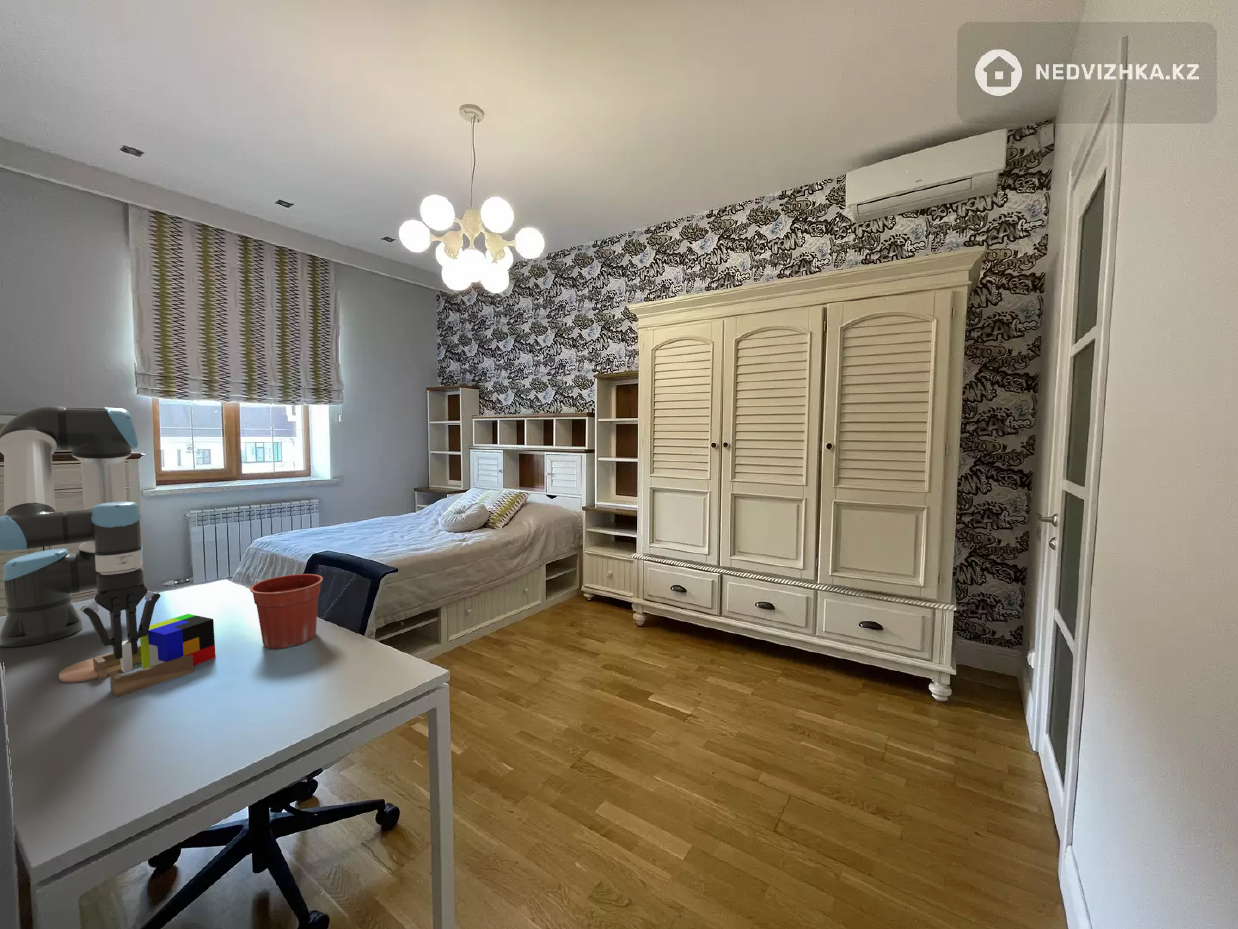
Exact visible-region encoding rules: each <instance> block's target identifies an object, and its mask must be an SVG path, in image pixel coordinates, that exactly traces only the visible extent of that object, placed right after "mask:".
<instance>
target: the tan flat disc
mask: <svg viewBox="0 0 1238 929" xmlns="http://www.w3.org/2000/svg"><path fill="white" fill-rule="evenodd" d="M93 658H94V657H92V658H88V659H85V660H82V661H79V662H76V663H73V664H72V665H71V664H70V665H69V666H67V667H65V668H64V669H62V670H61V671H59V673H58V679H59V681H60V682H63V683H76V682H77V683H78V682H85V681H90V680H94V679H99V678H98V674H97V673H96V672H95V671H94V665H93ZM106 671H107V676H110V673H113V672H117V671H118V672H119V671H122V670H121V664H119V665H116V666H112V667H109V668H106Z"/></svg>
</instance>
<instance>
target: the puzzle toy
mask: <svg viewBox="0 0 1238 929" xmlns="http://www.w3.org/2000/svg"><path fill="white" fill-rule="evenodd" d="M214 625H215V624H214V619H213V618H211V617H205V616H201V615H196V614H191V613H186V614H183V615H179V616H177V617H173V618H169V619H167V620H164V621H159V622H157V623H154V624H153V623H152V624H150V626H149V630H148V634H147V635H146V636H143V637H141V638H139V641H140V643H139V645H141V659H142V662H141V669H145V668H148V667H151V666H155V665H158V664H161V663H164V662H168V661H171V660H174V659H177V658H181V657H184V656H187V655H192V656H193V667H194V666H196V665H200V664H202V663H205V662H207V661H210V660H212V659H215V658H216V657H217V656H216V642H215V626H214Z"/></svg>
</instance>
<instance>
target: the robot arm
mask: <svg viewBox="0 0 1238 929" xmlns="http://www.w3.org/2000/svg"><path fill="white" fill-rule="evenodd" d="M137 448H139V442H138V436H137V433H136V430H135V425H134V421H133V418H132V415H131V414H130V411H129V410H127V409H125V408H120V407H116V408H115V407H108V406H57V405H53V406H52V405H48V406H46V405H45V406H40V407H36V408H31V409H29V410H26V411H23V412H21V413H19V414H18V415H16V416H14V417H13V418H12V419H11V420H9V421H8V422H7V423H6V424H5V425H3V427H2V428H1V429H0V453H1V454H2V455H3V475H4V476H3V480H4V481H3V482H4V483H3V485H4V486H3V500H4V502H3V503H4V504H3V505H4V506H3V515H2V516H0V552H6V551H9V552H10V551H18V550H19V551H24V550H28V549H29V550H30V549H37V548H45V547H52V546H58V545H60V546H61V545H68V544H70V545H72V544H79V543H80V544H79V546H78V551H77V552H69V550H68V549H67V548H56V549H55V548H54V549H48V550H42V551H37V552H32V553H28V554H24V555H21V556H18V557H14V558H12V559H9V561H7V562H6V563H4V566H3V577H2V581H3V582H4V595H5V596H4V597H5V606H6V607H5V608H6V617H5V619H4V622H3V624H2V627H1V630H0V647H3V648H18V647H26V646H27V647H28V646H33V645H39V644H42V643H47V642H51V641H54V640H58V639H62V638H65V637H68V636H71V635H73V634H75V633H78V632H79V631H81V630H83V626H84V625H83V618H82V617H81V615H80V614H79V612H78V610H77V609H76V608H75V606H74V604H73V602H72V594H77V593H78V594H79V593H84V592H90V591H96V590H97V592H96V595H95V596H94V601H91V603H89V604H88V605H85V606H84V605H83V606H81V608H80V611H81V612H82V613H84V615H86V616H87V617H88V619H89V621H90V623H91V624H92V627H93V628H94V631H95V633H96V635H97V638H98V640H99V642H100V643H101V644H102V645H103V646H105V647H107V646H112V652H113V655H114V657H115V658H116V659H120V663H121V670H120V671H122V672H123V673H125V674H126V673H130V672H131V671H132V672H133V671H134V667H133V666H134V664H132V655H134V654H137V652H138V641H139V640H140V638H141V637H143V636H146V635H147V634H148V630H149V626H150V625H151V622H152V617H153V614H154V610H155V606H156V603H157V602H158V600H160V597H161V594H160V593H158V592H157V591H149V590H148V588H147V587H146V585H145V579H144V577H145V576H144V575H145V574H144V568H143V563H144V557H143V556H144V548H143V547H144V546H143V545H142V538H141V537H142V536H141V535H142V534H141V533H142V532H141V518H142V517H141V516H142V515H141V513H140V508H139V505H138V503H137V502H135V501H127V488H126V468H125V467H126V466H125V460H126V459H127V458H129V457H131V455H132V450H135V449H137ZM57 450H62V451H63V450H64V451H65V450H66V451H67V450H70V451H71V456H72V457H73V458H75V459H76V460H78V461H79V462H80V470H81V483H82V484H81V485H82V496H83V498H82V500H83V509H78V510H76V509H75V510H68V511H67V510H65V511H64V510H63V511H57V508H56V495H55V481H54V468H53V467H54V466H53V454H54V453H55V452H56V451H57ZM143 599H144V600H145V602H144V606H143V610H142V613H141V614H142V615H141V618H140V621H139V625H138V624H137V606H138V605H139V604H140V602H142V600H143ZM99 606H100V607H102V608H103V609H105V610H106V611H108V612H109V613H108V614H109V616H110V619H109V620H110V632H111V637H110V636H109V634H108V633H107V630H106V628H105V626H104V624H103V622H102V619H101V618H100V616H99V614H98V612H99V610H100V609H99ZM122 611H125V622H126V623H125V624H126V634H127V635H126V637H127V640H123V632H122V621H121V620H122V618H121V616H122Z"/></svg>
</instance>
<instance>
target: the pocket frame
mask: <svg viewBox="0 0 1238 929" xmlns="http://www.w3.org/2000/svg"><path fill="white" fill-rule="evenodd" d="M137 646H138V652H137V654H134V655H132V664H133V665H136V664H138V663H142V659H141V645H140V644H137ZM92 658H93V665H94V671H95V672H96V673H97V674H98V678H97V679H98V680H103V679H105V678H108V675H107V671H106V668H109V667H112V666H116V665H119V664H121V663H120V659H116V658H115V657H114V655H113V651H112V652H109V653H105V654H102V655H98V656H95V657H92ZM194 672H195V671H194V666H193V656H192V655H187V656H184V657H181V658H177V659H174V660H171V661H168V662H164V663H161V664H158V665H155V666H151V667H148V668H145V669H142V668H141V669H139V670H136V671H132V672H127V673H125V674H121V673H120V672H119V671H117V672H113V673H110V674H109V684H110V692H111V693H113V695H115V697H116V698H119V697H122V696H124V695H128V694H130V693H134V692H137V691H140V690H143V689H146V688H149V687H152V686H155V685H158V684H161V683H164V682H167V681H170V680H173V679H176V678H179V677H182V676H186V675H189V674H191V673H194Z"/></svg>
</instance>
